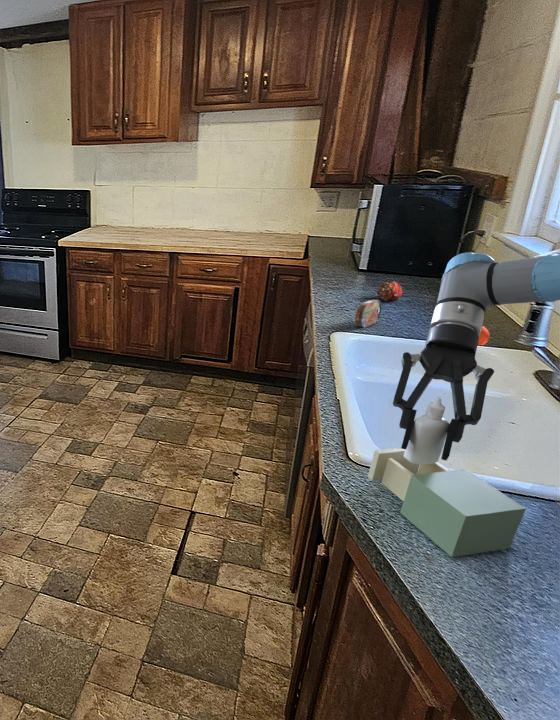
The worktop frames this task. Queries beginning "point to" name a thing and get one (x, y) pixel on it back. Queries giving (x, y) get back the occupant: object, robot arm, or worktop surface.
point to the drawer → (398, 470)
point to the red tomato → (483, 336)
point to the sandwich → (368, 313)
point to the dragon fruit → (390, 291)
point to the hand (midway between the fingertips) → (424, 451)
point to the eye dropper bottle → (427, 435)
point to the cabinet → (461, 512)
